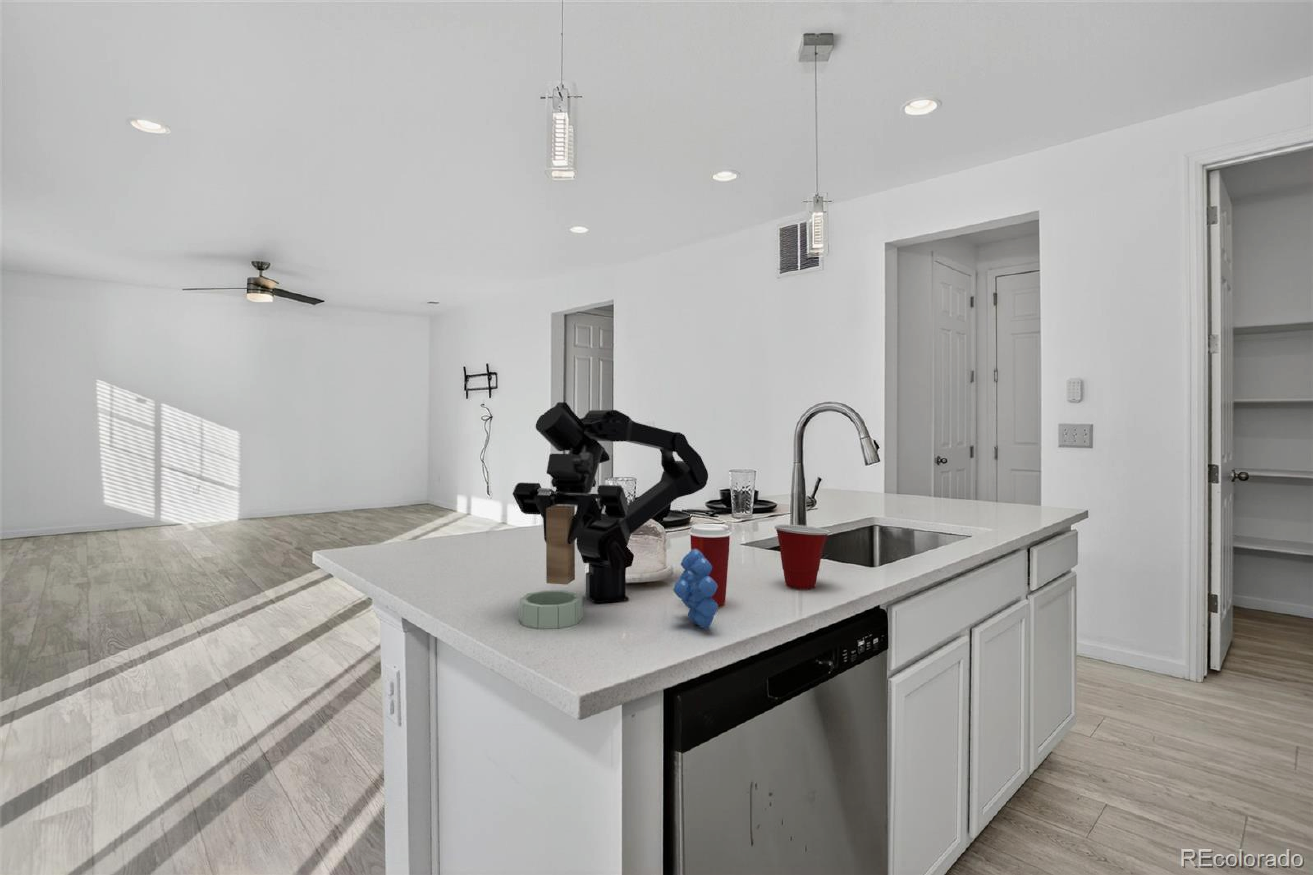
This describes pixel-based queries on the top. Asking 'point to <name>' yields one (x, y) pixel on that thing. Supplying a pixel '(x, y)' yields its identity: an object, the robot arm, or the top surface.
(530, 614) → the pale green faceted bowl
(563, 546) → the layered tan brick
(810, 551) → the plastic cup
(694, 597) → the grapes
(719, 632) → the top surface
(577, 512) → the robot arm
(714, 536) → the paper cup
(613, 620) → the top surface
